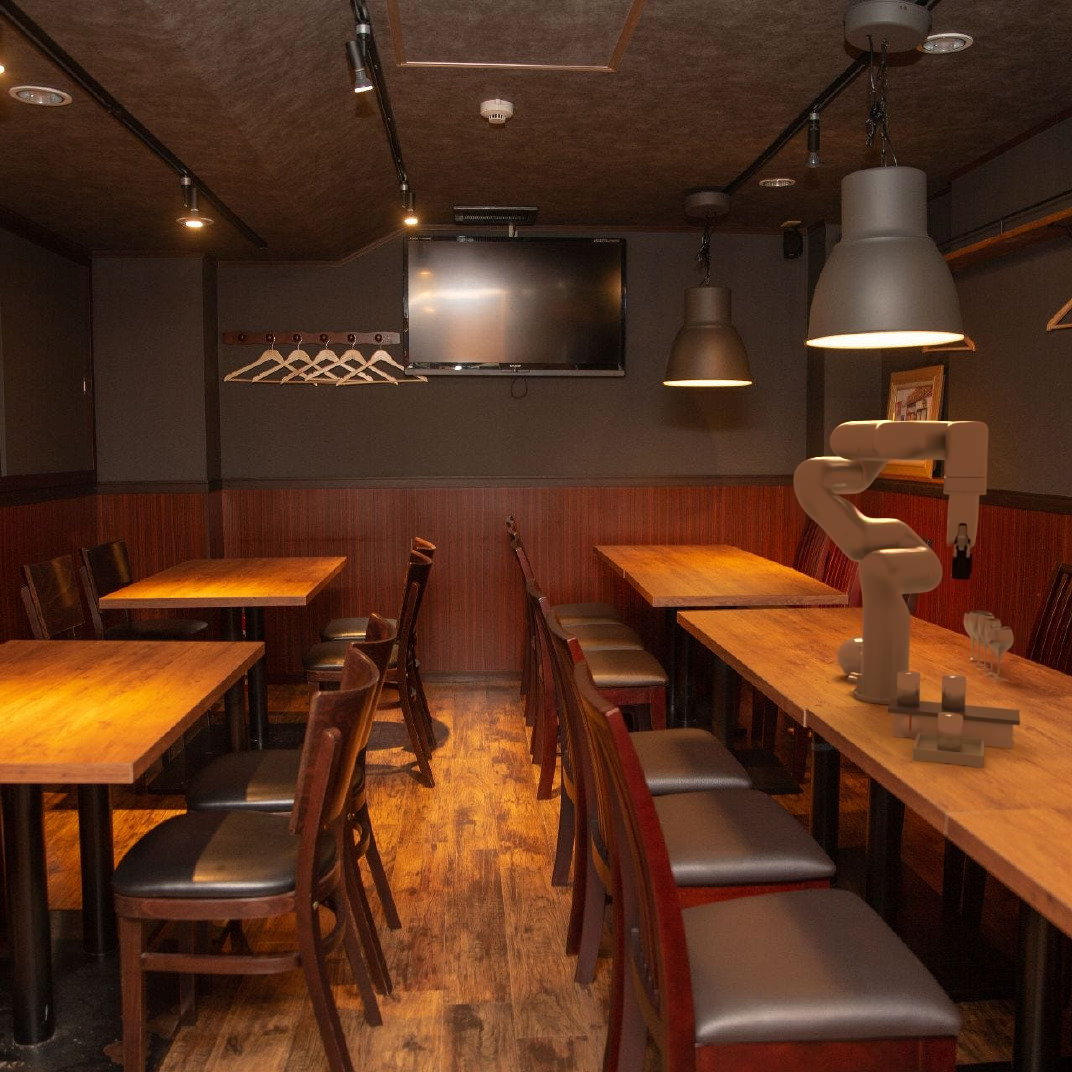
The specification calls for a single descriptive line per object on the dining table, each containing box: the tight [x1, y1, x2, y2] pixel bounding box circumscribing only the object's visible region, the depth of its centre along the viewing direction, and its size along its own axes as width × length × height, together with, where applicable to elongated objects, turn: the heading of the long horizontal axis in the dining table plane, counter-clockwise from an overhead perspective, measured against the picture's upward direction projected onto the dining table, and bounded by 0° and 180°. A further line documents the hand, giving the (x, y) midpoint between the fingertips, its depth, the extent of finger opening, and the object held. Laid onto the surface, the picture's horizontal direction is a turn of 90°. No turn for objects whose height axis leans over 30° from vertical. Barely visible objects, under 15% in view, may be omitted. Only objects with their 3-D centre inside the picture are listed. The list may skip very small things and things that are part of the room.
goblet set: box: [963, 610, 1015, 682], centre depth 252 cm, size 28×6×13 cm, turn 171°
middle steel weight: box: [941, 673, 967, 712], centre depth 192 cm, size 4×4×6 cm
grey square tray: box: [912, 733, 985, 769], centre depth 181 cm, size 11×11×2 cm
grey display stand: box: [886, 698, 1021, 750], centre depth 192 cm, size 22×8×5 cm, turn 66°
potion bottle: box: [836, 636, 862, 676], centre depth 243 cm, size 9×10×15 cm
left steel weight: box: [897, 670, 921, 707], centre depth 195 cm, size 4×4×6 cm
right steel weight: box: [937, 712, 963, 753], centre depth 181 cm, size 4×4×6 cm
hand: (961, 576), depth 202 cm, fingers open, 9 cm apart
